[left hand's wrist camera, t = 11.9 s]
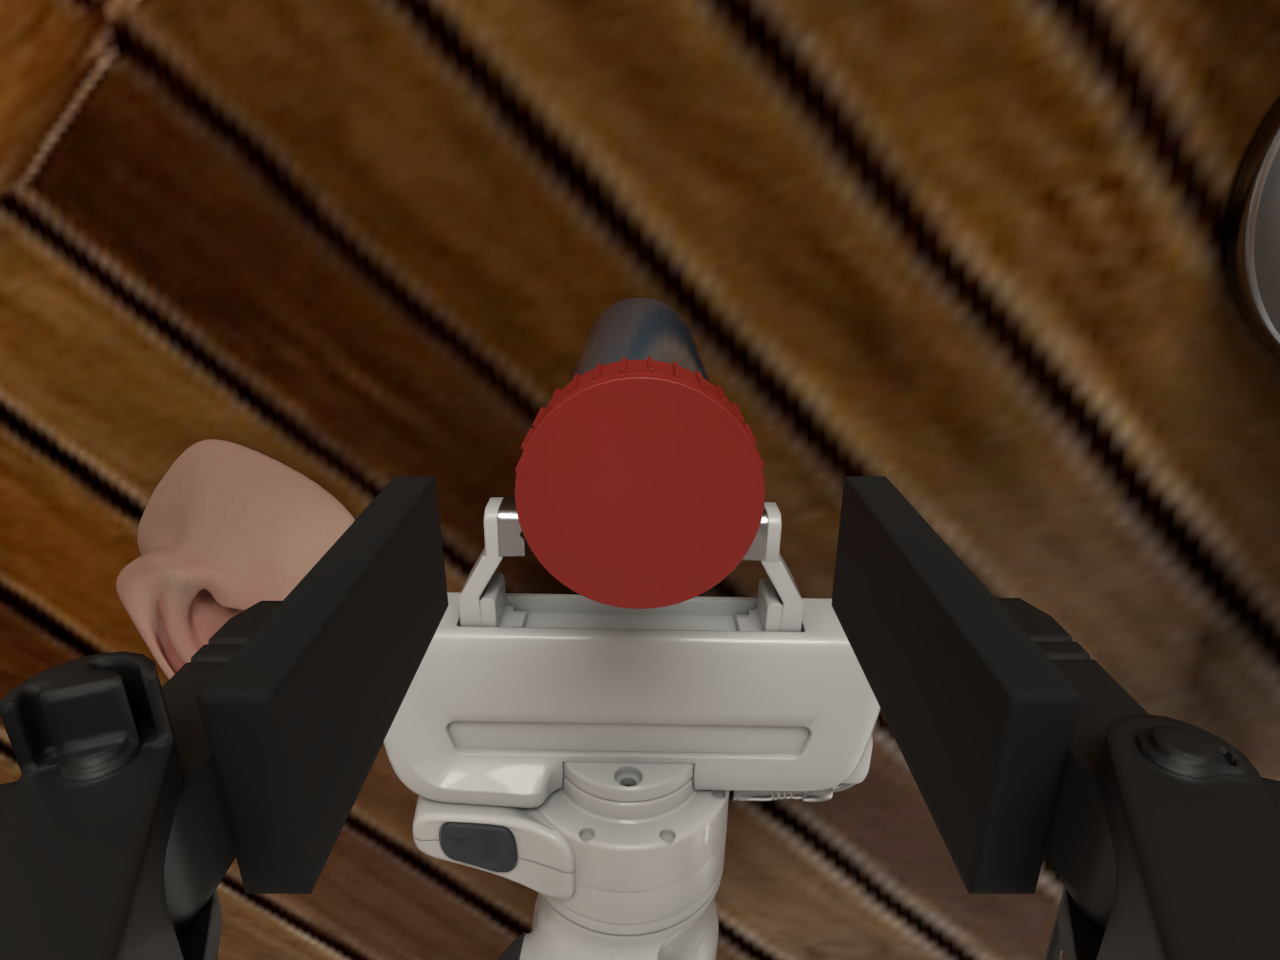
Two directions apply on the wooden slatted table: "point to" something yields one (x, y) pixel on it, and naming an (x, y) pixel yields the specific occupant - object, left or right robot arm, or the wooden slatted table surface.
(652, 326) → the blue grey capped cylinder
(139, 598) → the anatomical model
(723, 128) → the wooden slatted table surface
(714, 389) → the lid
